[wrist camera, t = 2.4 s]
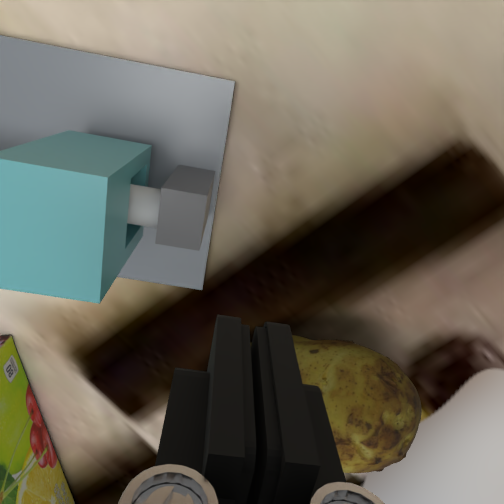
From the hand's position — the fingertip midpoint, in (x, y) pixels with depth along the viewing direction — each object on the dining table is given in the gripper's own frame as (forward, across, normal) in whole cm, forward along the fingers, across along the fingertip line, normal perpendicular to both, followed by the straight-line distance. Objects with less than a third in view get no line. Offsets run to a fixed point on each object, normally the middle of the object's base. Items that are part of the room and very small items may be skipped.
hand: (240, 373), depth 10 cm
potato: (+17, -6, +11) cm, 21 cm away
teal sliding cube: (+14, +7, 0) cm, 15 cm away
